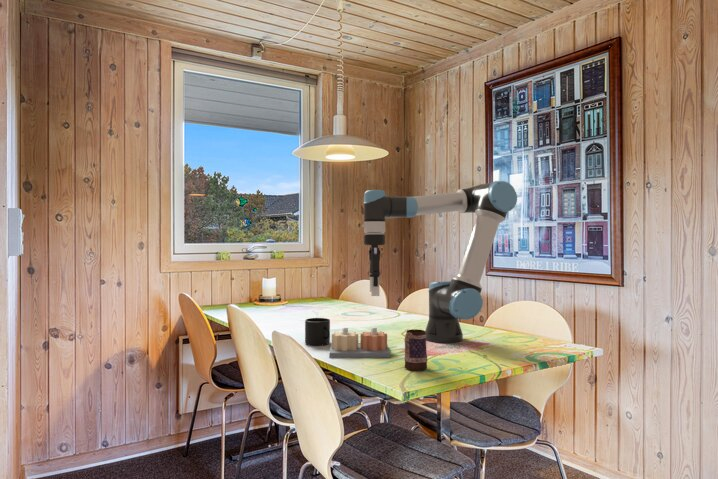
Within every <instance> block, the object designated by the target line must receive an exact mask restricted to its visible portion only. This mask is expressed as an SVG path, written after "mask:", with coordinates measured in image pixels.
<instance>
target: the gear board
mask: <svg viewBox="0 0 718 479" xmlns="http://www.w3.org/2000/svg"><path fill="white" fill-rule="evenodd" d="M377 329H378V328H377V327H371V328H370V332H371V334H372V335H376V334H377V332H378V330H377ZM341 330H342V331H334V333H333V332H331V342H330V349H329V353H328V355H329V358H391V351H390V348H389V345H388V344H387V348H385V350H377V351H372V350H363V348H360V342H359V332H356V331H349V327H342V329H341Z"/></svg>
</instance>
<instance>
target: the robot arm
mask: <svg viewBox="0 0 718 479" xmlns="http://www.w3.org/2000/svg"><path fill="white" fill-rule="evenodd" d="M517 202H518V195H517V192H516V189H515V188H514V186H513V185H512V184H511V183H509V182H508V181H504V180H501V181H500V180H495V181H492V182H488V183H482V184H477V185H475V186H471V187H467V188H460V189H457V191H455V192H445V193H436V194H428V195H427V194H426V195H417V196H414V195H413V196H388V195H386V191H385V190H382V189H370V190H366V191H365V192H364V195H363V224H362V225H361V226H362V228H363V233H365V234H364V235H363V244H364V245H365V246H370V247H369V249H368V259H369V292H370V293H371V294H370V295H371V297H380V276H381V272H380V260H381V250H380V247H379V246H384V245H385V244H386V235H385V233H386V220H389V219H397V218H398V219H399V218H406V219H407V218H414V217H416V216H425V215H432V214H433V215H434V214H442V213H444V214H445V213H451V212H452V213H453V212H458V213H460V214H465V213H466V214H467V213H468V214H469V213H471V214H472V213H475V215H476V219H475V222H474V226H473V229H472V230H471V233H470V237H469V241H468V242H467V245H466V249H465V252H464V256H463V257H462V261H461V264H460V267H459V270H458V271H457V272H458V273H457V275H456V276H453V277H452V278H451V280H449V281H433V282H430V283H429V287H428V322H427V324H426V326H425V330H424V331H425V332H426V341H430V342H433V343H444V344H445V343H447V344H449V343H451V344H452V343H459V342H462V341H463V339H464V334H463V330H462V327H461V324H460V321H459V320H471V319H474V318H475V317H476V316H477V315H479V314H480V312H481V310H482V308H483V300H484V299H483V298H482V295H481V294H482V290H483V287H482V286H481V280H482V275H483V274H484V270H485V267H486V265H487V261H488V259H489V255H490V253H491V249H492V247H493V243H494V241H495V237H496V234H497V231H498V229H499V225H500V223H502V222H504V221H506V217H507V214H508V212H510V211H512V210H513V209H515V207H516V205H517Z"/></svg>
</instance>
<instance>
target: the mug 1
mask: <svg viewBox="0 0 718 479" xmlns="http://www.w3.org/2000/svg"><path fill="white" fill-rule="evenodd" d="M304 323H305V324H304V332H305V333H304V343H305V344H306V345H307V346H312V347H321V346H327V345H329V344H331V342H330V341H331V320H330V319H329V318H325V317H310V318H306V319H305V320H304Z"/></svg>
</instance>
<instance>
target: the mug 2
mask: <svg viewBox="0 0 718 479" xmlns="http://www.w3.org/2000/svg"><path fill="white" fill-rule="evenodd" d="M404 368H405V369H406V370H408V371H413V372H422V371H423V372H424V371H425V370H427V369H428V355H427V340H426V332H425V330H424V329H415V328H414V329H407V330H406V332H405V335H404Z"/></svg>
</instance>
